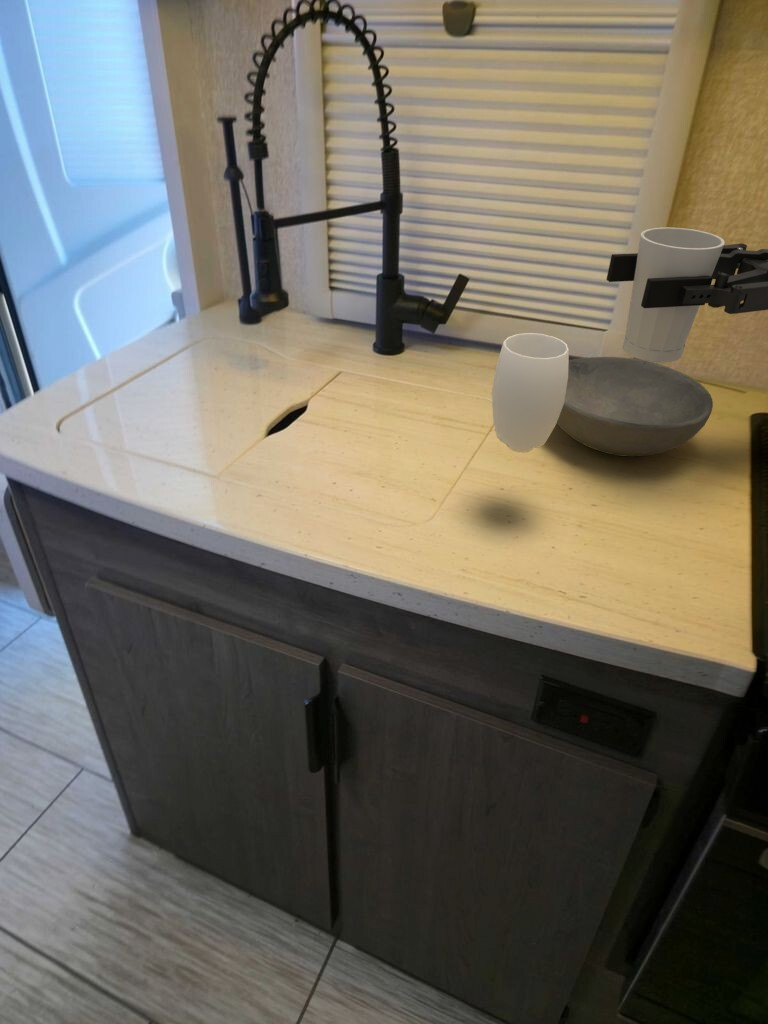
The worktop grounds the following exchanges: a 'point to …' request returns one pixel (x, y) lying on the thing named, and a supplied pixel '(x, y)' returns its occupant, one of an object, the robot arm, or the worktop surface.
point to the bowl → (631, 406)
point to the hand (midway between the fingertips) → (627, 280)
